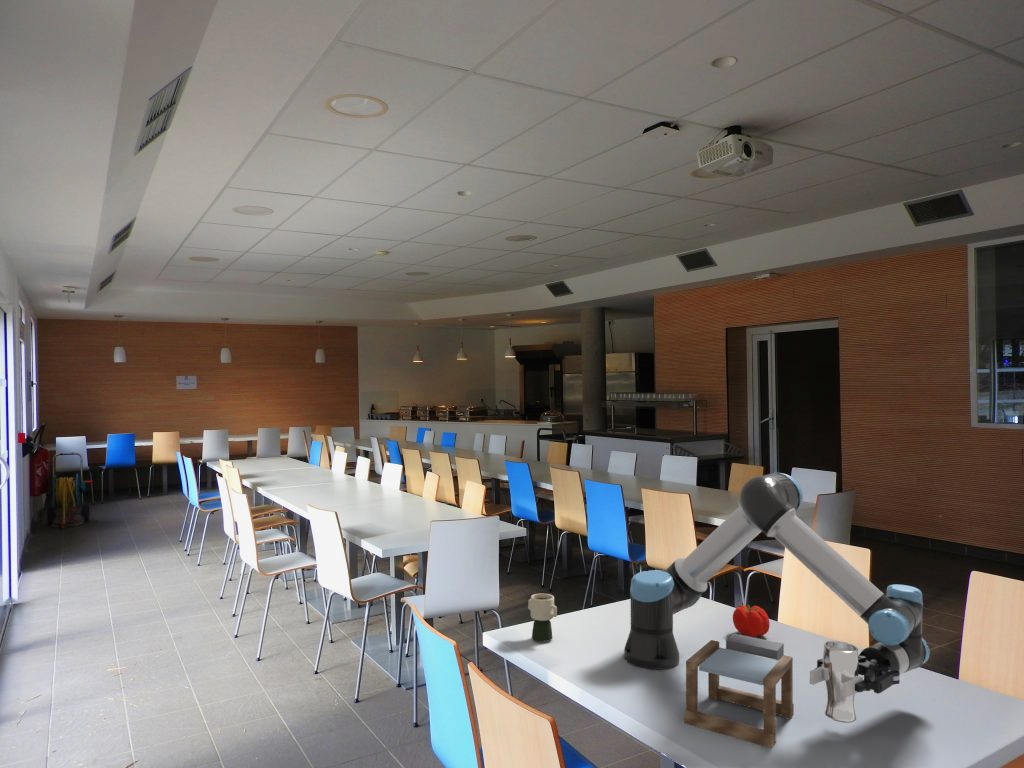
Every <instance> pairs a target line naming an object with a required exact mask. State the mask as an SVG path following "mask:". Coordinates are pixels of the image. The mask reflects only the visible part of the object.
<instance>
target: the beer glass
mask: <svg viewBox="0 0 1024 768" xmlns="http://www.w3.org/2000/svg"><path fill="white" fill-rule="evenodd" d="M858 656H859V648H858V647H857V646H856V645H854V644H852V643H849V642H845V641H840V640H828V641H825V642H824V645H823V656H822V658H823V673H824V684H825V690H826V701H825V702H826V703H825V706H824V707H825V708H824V715H825V716H826V717H827V718H828V719H831V720H832V721H835V722H837V723H838V722H839V723H846V724H849V723H854V722H856V720H857V718H856V716H857V715H856V711H855V695H856V693H855V694H853V695H851V696H848V697H843V683H844V682H847V681H849V680H851V679H854V678H857V677H859V675H858V674H859V661H858Z"/></svg>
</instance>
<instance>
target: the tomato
mask: <svg viewBox="0 0 1024 768" xmlns="http://www.w3.org/2000/svg"><path fill="white" fill-rule="evenodd" d="M732 623H733V625H734V628H735V629H736V631H737V632H738V633H739V635H743V636H748V637H753V638H757V637H762V636H764V635H766V634H767V633H768V632H769V630H770V623H771V622H770V618H769V616H768V613H767V612H766V611H765V609H763V608H761V607H760V606H758V605H753V606H750V605H749V604H747V605H744V604H743V605H738V606H737V607H736V608H735V610H734V611H733V614H732Z"/></svg>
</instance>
